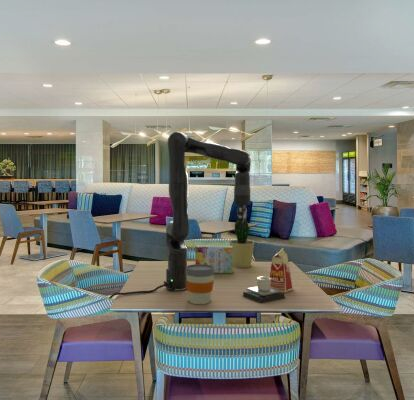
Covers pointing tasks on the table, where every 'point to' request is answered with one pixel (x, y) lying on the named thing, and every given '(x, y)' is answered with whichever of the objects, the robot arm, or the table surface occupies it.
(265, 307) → the table surface
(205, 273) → the reusable coffee cup
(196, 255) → the snack box
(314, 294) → the table surface
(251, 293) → the scale
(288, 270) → the milk carton
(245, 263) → the potted cactus
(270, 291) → the grey square plate
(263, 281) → the white cup
